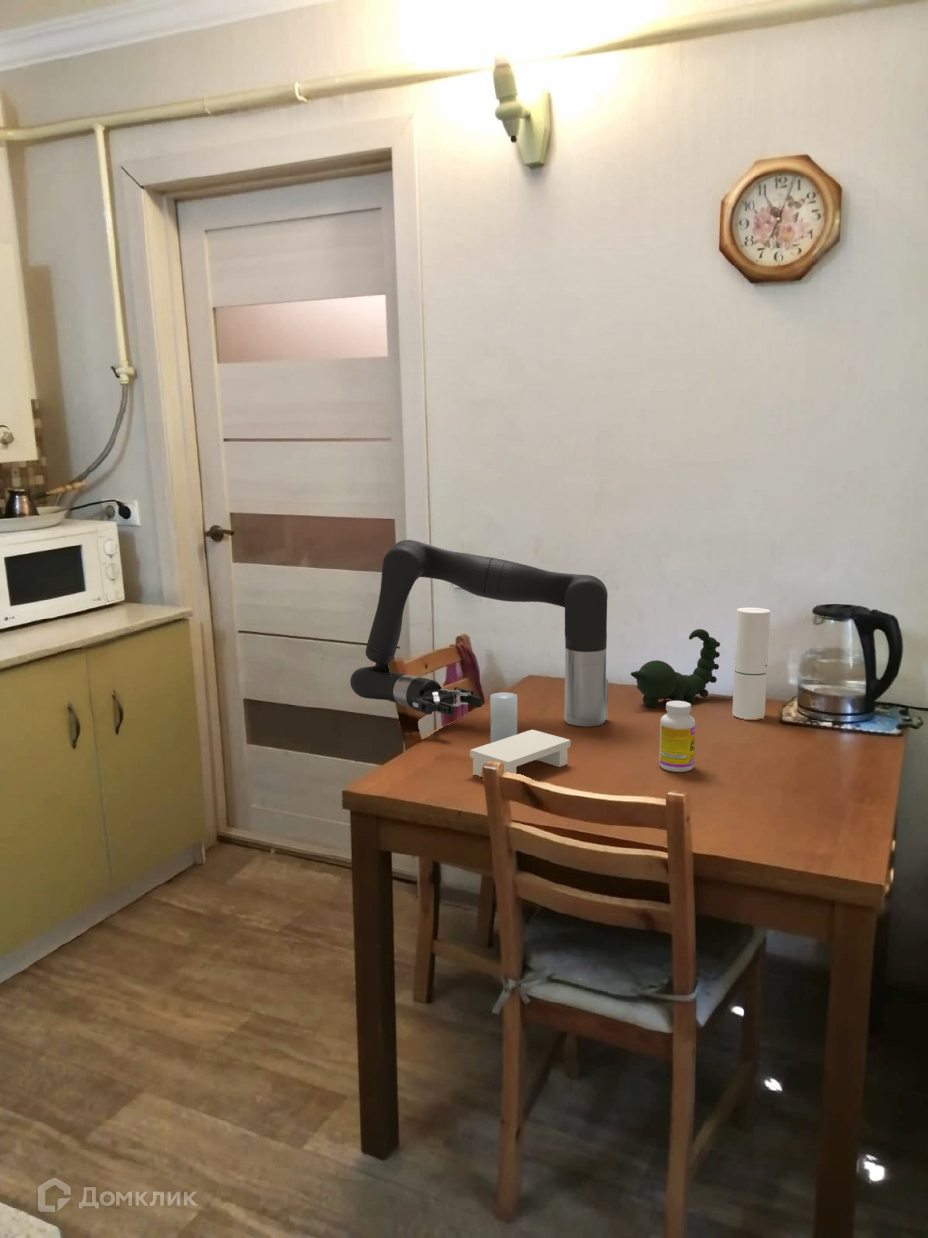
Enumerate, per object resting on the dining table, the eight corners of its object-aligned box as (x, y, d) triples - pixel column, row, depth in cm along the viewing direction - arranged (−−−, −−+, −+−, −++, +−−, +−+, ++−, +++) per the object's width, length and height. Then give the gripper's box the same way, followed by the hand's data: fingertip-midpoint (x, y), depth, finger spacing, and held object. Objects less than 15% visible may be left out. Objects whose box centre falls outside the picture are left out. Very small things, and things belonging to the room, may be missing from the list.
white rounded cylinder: (503, 740, 198) (503, 691, 196) (522, 746, 194) (522, 695, 192) (485, 746, 194) (484, 696, 192) (504, 752, 190) (504, 701, 188)
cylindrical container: (768, 715, 215) (773, 609, 210) (759, 722, 209) (765, 614, 204) (737, 710, 218) (742, 606, 214) (728, 718, 212) (733, 611, 208)
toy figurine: (696, 699, 235) (615, 703, 224) (705, 625, 232) (623, 626, 221) (722, 708, 226) (639, 712, 215) (730, 632, 224) (647, 632, 213)
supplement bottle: (694, 774, 176) (696, 709, 174) (659, 772, 178) (661, 707, 175) (693, 762, 183) (695, 700, 181) (659, 760, 184) (660, 698, 182)
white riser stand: (532, 752, 190) (532, 729, 189) (570, 764, 183) (570, 740, 182) (470, 774, 177) (470, 750, 176) (508, 788, 170) (508, 762, 169)
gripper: (393, 682, 206) (443, 696, 195) (439, 671, 216) (489, 683, 204) (394, 715, 207) (443, 730, 196) (440, 702, 217) (490, 716, 206)
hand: (467, 706), depth 200 cm, fingers open, 8 cm apart
